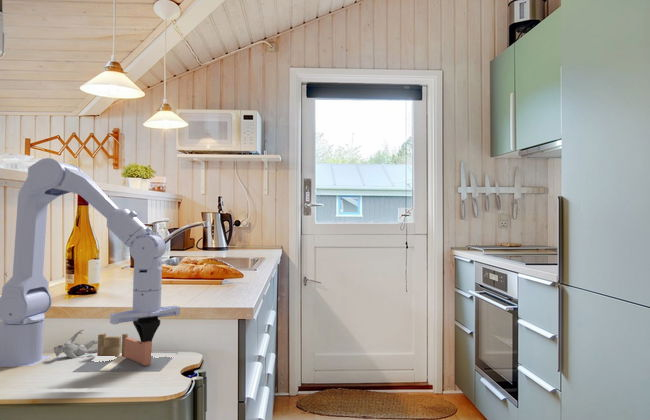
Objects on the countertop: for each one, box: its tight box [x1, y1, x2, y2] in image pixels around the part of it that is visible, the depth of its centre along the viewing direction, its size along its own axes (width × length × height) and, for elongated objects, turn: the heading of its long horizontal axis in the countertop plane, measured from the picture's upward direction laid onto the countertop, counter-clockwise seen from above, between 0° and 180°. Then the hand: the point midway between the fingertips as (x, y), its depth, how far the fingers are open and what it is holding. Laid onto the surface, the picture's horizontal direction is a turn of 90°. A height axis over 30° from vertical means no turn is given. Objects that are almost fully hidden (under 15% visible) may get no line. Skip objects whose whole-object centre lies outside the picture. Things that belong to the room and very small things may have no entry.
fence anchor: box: [96, 333, 129, 357], centre depth 99 cm, size 6×1×5 cm, turn 94°
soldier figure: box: [53, 329, 98, 359], centre depth 100 cm, size 8×5×12 cm
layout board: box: [72, 351, 179, 373], centre depth 95 cm, size 17×14×1 cm
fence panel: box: [124, 336, 153, 366], centre depth 95 cm, size 10×1×5 cm, turn 49°
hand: (145, 353), depth 95 cm, fingers closed
